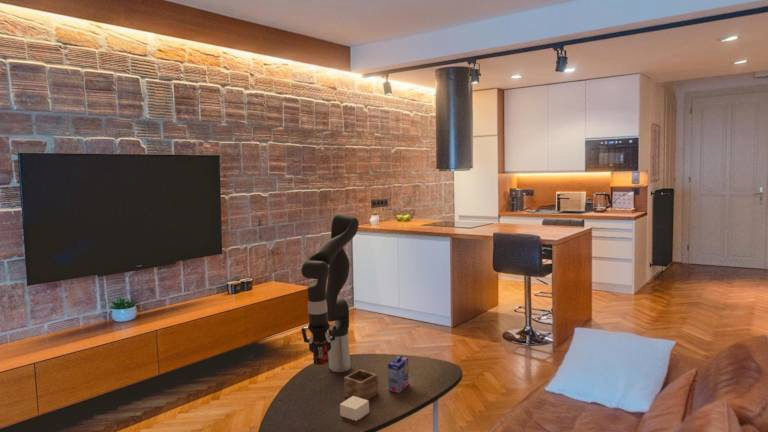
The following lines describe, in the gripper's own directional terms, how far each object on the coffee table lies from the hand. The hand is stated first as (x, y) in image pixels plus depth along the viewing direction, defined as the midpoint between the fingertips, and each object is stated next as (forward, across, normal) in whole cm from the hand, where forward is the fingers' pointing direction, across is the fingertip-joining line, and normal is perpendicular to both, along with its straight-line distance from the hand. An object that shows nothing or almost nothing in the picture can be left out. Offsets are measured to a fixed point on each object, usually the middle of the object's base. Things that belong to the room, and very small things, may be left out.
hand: (320, 351), depth 212 cm
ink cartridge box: (+24, +32, +10) cm, 41 cm away
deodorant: (+5, 0, 0) cm, 5 cm away
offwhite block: (+24, +12, -8) cm, 28 cm away
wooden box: (+24, +16, +7) cm, 29 cm away
